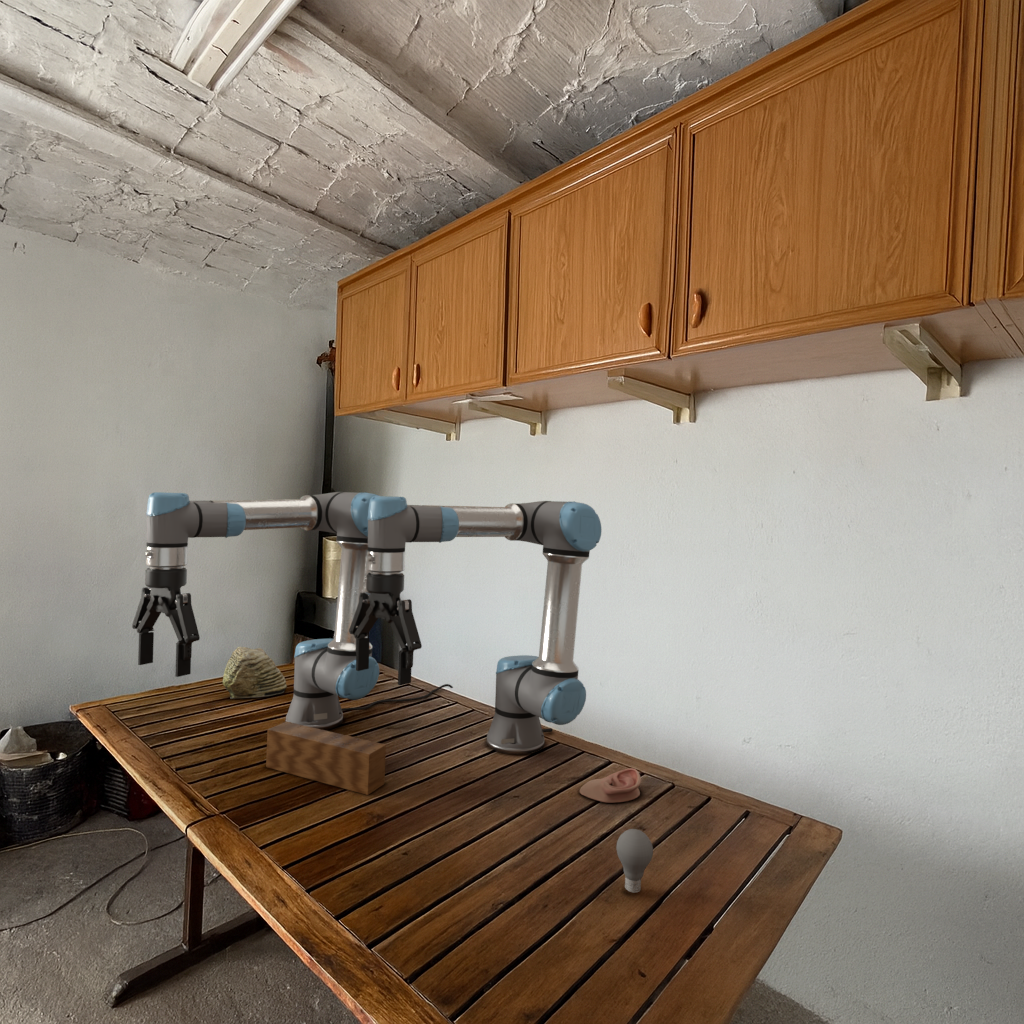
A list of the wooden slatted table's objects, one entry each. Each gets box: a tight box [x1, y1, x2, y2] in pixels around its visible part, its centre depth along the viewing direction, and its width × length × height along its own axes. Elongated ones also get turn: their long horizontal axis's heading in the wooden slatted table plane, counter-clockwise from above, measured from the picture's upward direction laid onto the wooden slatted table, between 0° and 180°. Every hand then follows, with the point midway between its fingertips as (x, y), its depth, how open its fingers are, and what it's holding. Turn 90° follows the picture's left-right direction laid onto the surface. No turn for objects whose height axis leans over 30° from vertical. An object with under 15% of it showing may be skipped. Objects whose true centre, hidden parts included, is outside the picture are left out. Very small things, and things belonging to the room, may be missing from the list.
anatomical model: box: [579, 767, 642, 804], centre depth 142 cm, size 13×4×12 cm
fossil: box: [222, 646, 288, 699], centre depth 198 cm, size 9×18×15 cm, turn 132°
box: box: [265, 721, 387, 796], centre depth 144 cm, size 29×6×9 cm, turn 66°
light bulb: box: [615, 828, 654, 894], centre depth 106 cm, size 6×6×10 cm
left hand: (163, 669), depth 131 cm, fingers open, 13 cm apart
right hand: (382, 676), depth 129 cm, fingers open, 13 cm apart
